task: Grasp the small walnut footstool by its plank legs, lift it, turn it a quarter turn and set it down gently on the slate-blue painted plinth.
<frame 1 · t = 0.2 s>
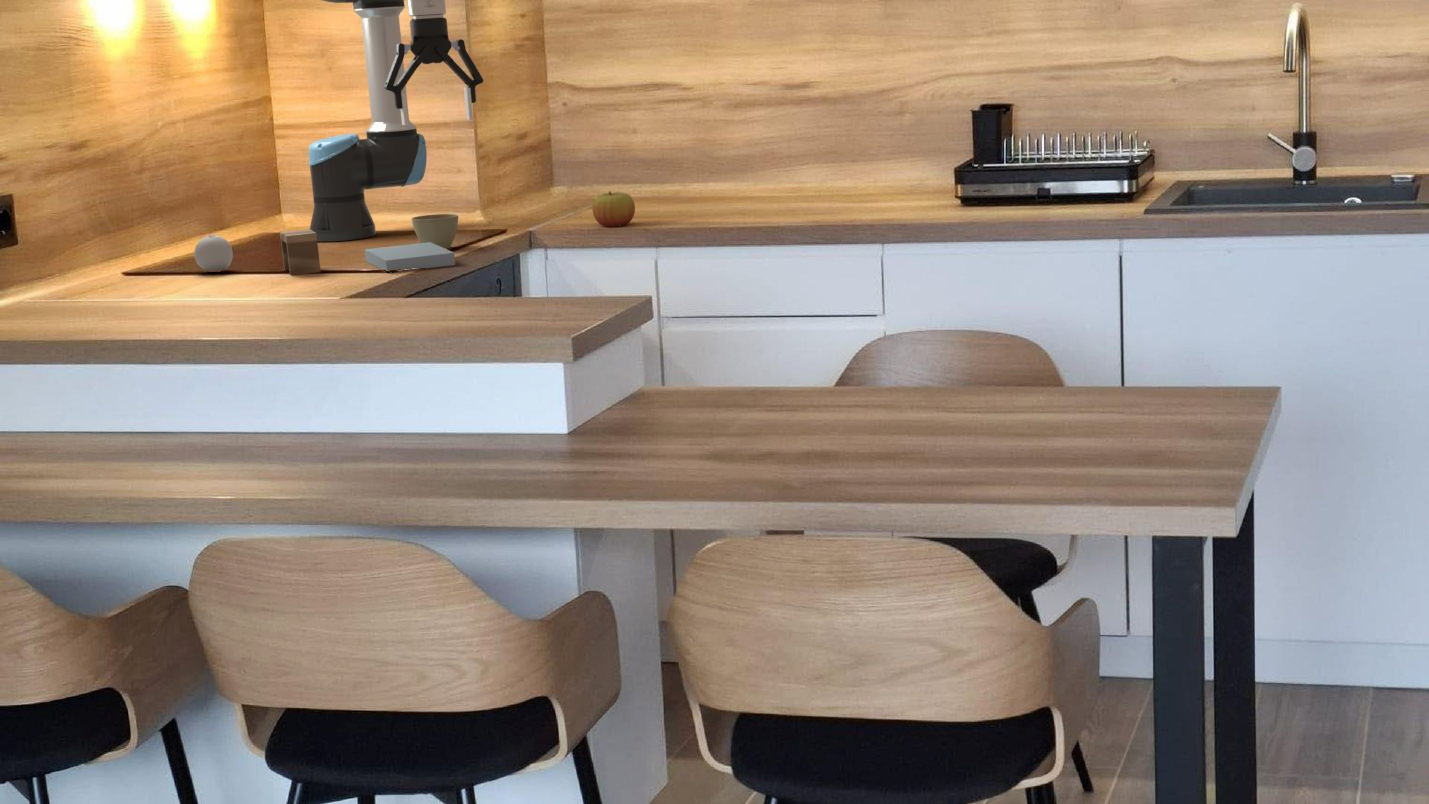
hand: (437, 122, 361), 28 cm above the kitchen counter, fingers open, 13 cm apart
plinth: (409, 263, 359), on the kitchen counter
flower pot: (438, 250, 377), on the kitchen counter
apple 2: (614, 226, 399), on the kitchen counter
stool: (302, 271, 357), on the kitchen counter
grey ball: (216, 273, 363), on the kitchen counter
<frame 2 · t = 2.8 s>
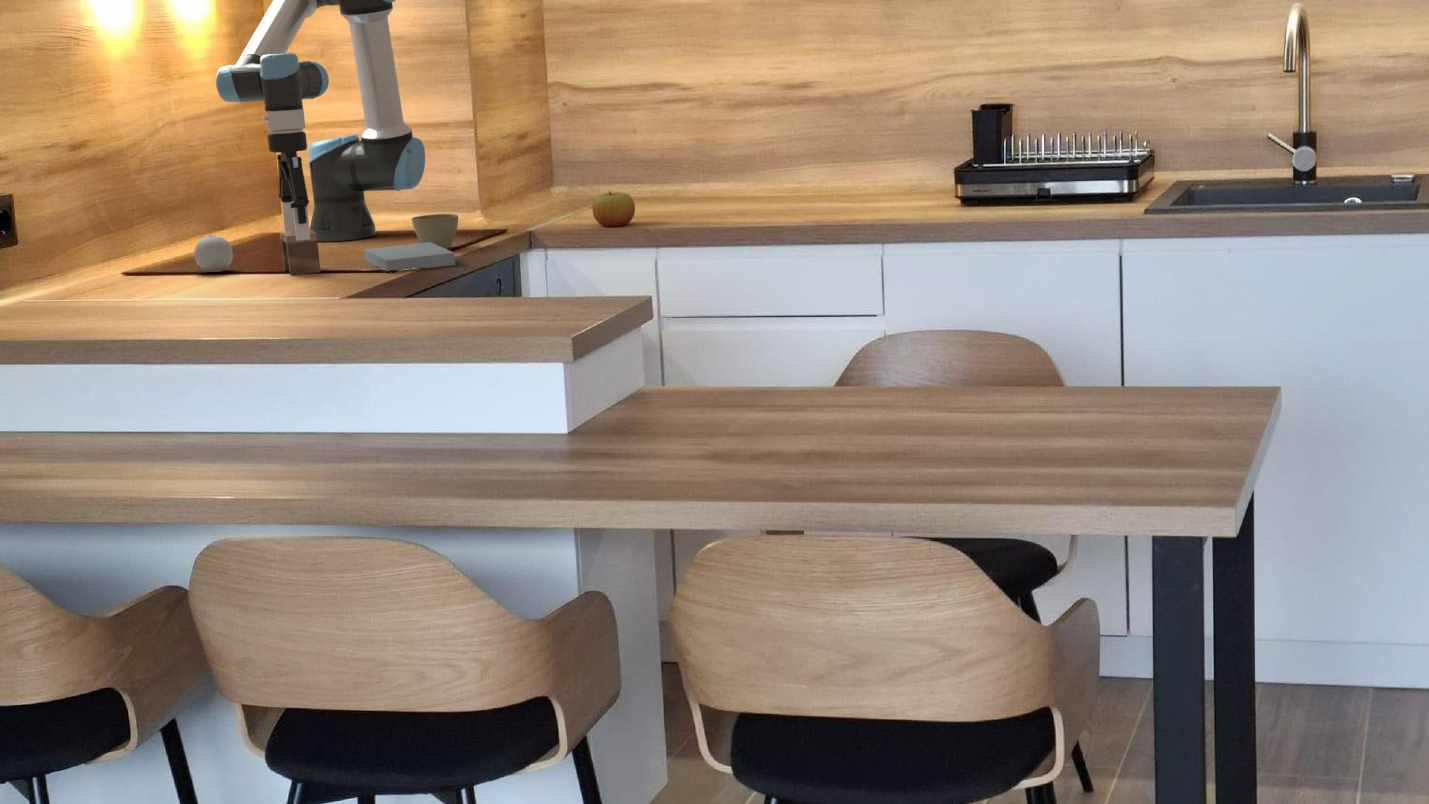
hand: (297, 236, 355), 7 cm above the kitchen counter, fingers open, 13 cm apart
nothing on the kitchen counter moved.
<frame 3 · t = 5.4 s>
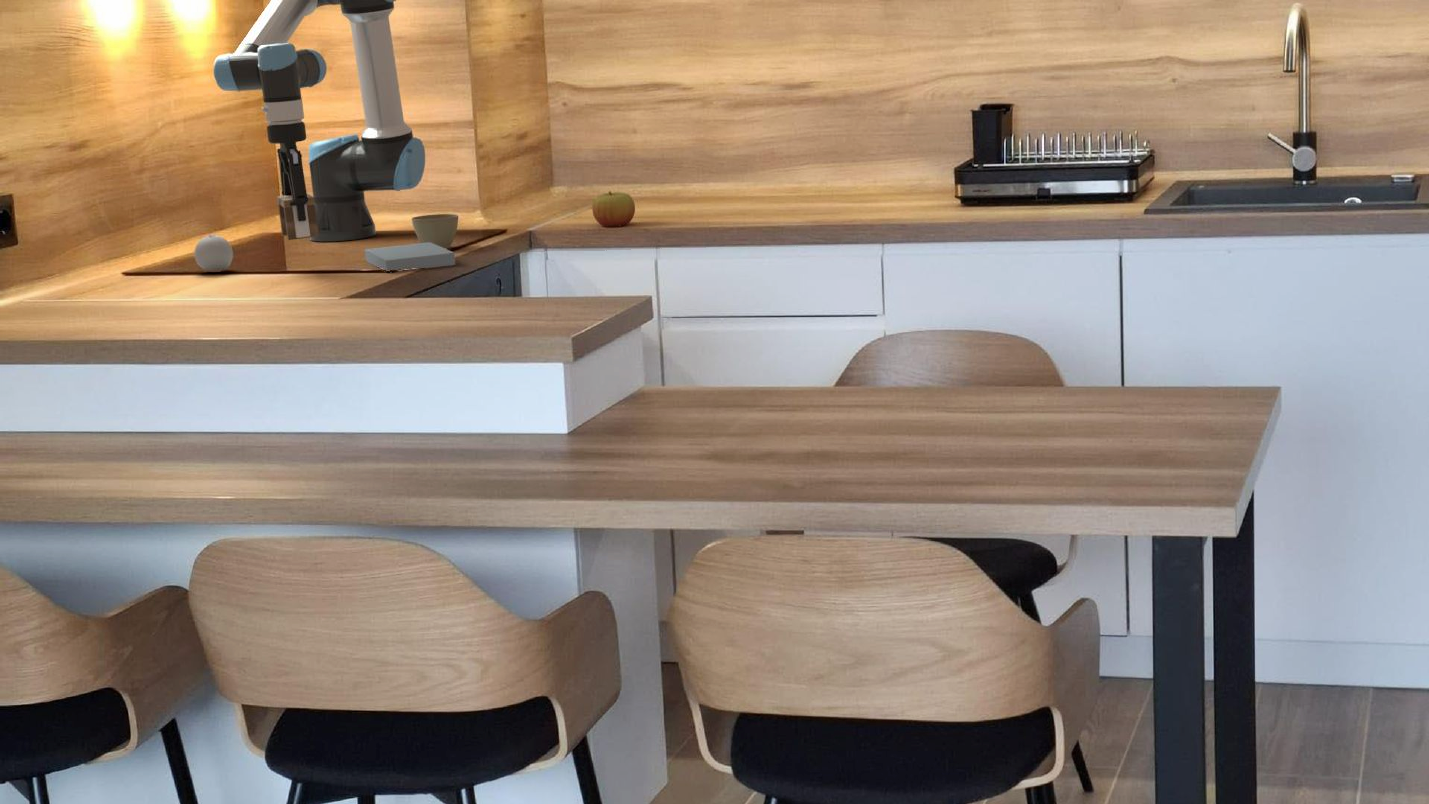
hand: (299, 234, 355), 8 cm above the kitchen counter, fingers closed on stool, 8 cm apart
stool: (300, 235, 356), point 7 cm above the kitchen counter, touching gripper
everything else where it was.
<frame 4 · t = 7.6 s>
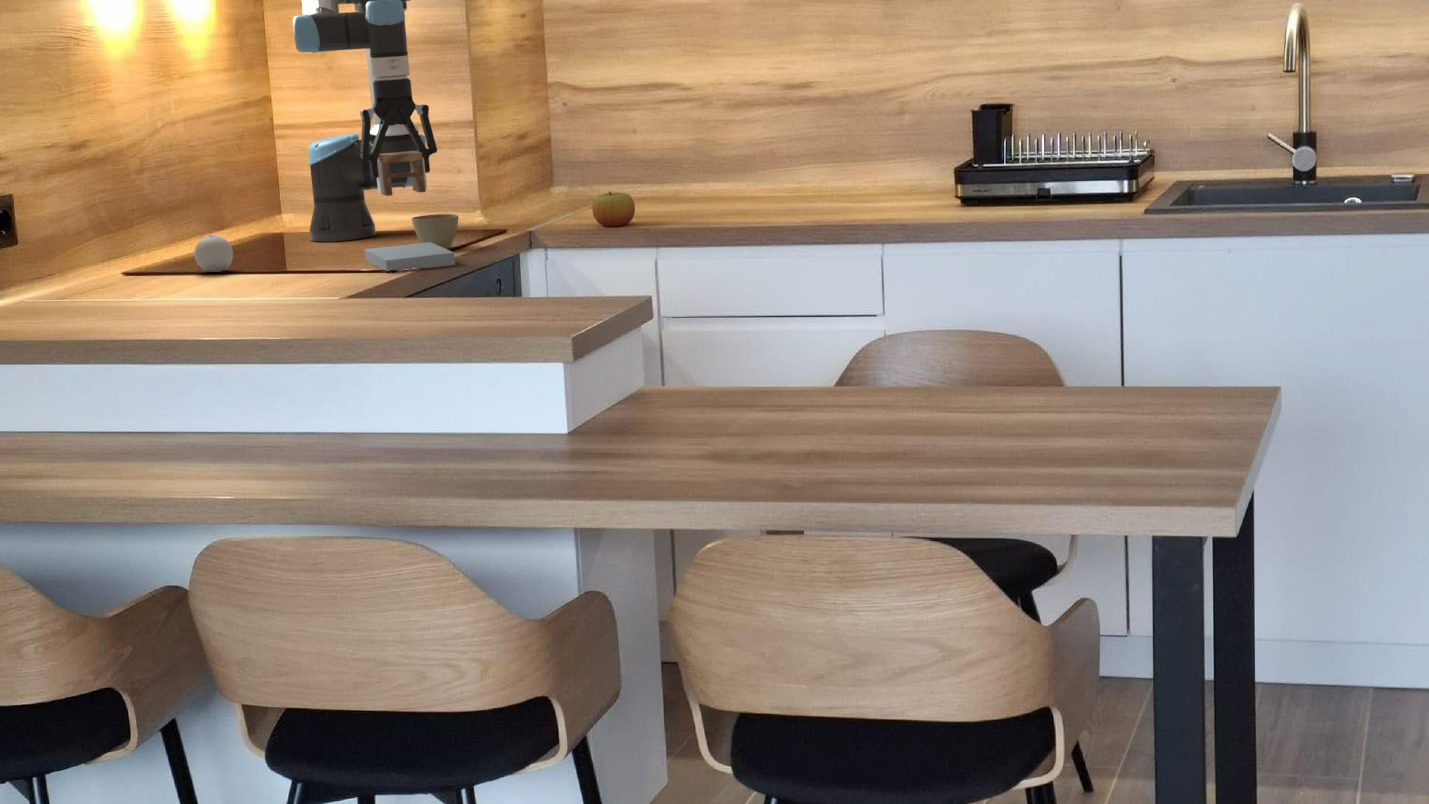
hand: (402, 191, 356), 15 cm above the kitchen counter, fingers closed on stool, 8 cm apart
stool: (402, 192, 356), point 15 cm above the kitchen counter, touching gripper
everything else where it was.
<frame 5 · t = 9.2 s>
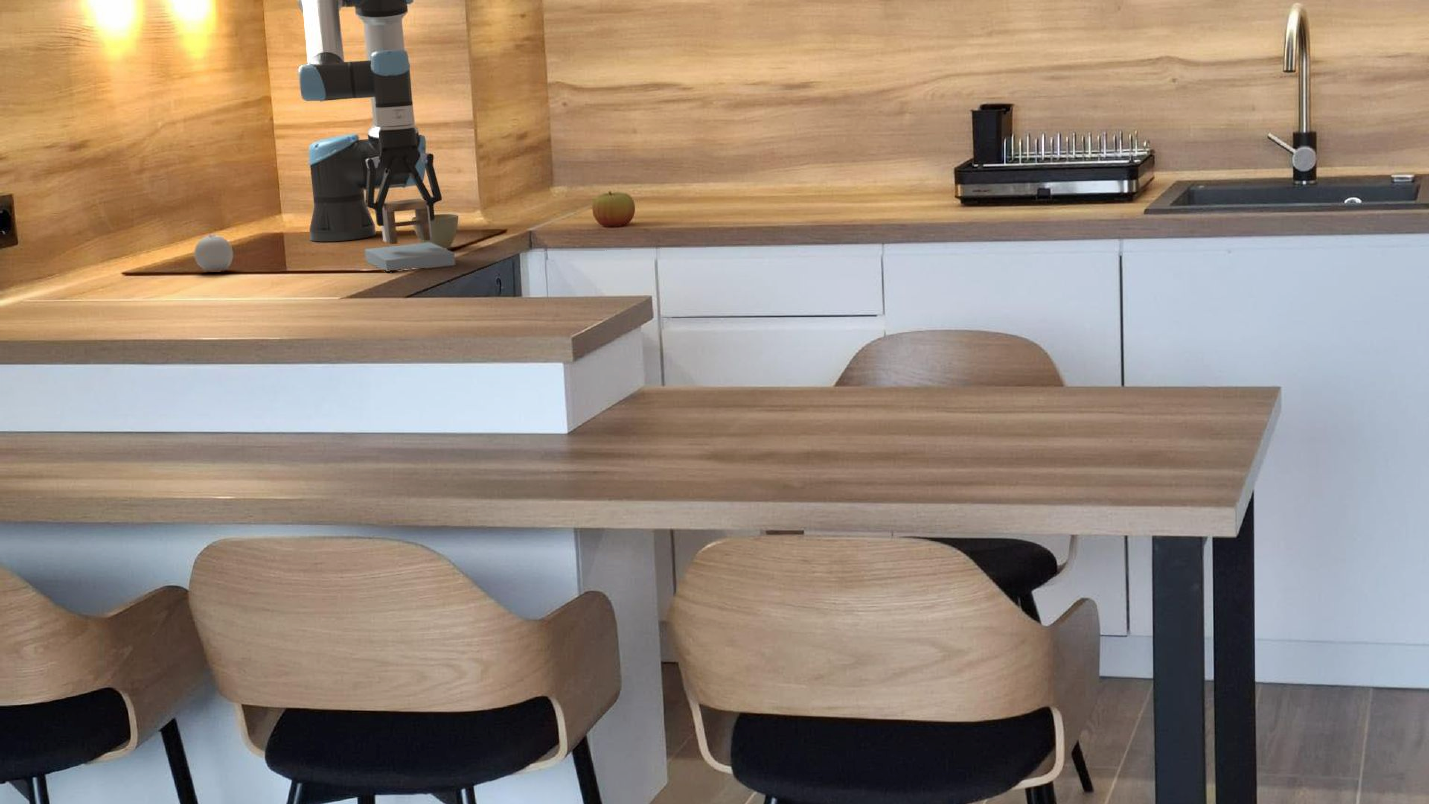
hand: (407, 239, 358), 5 cm above the kitchen counter, fingers closed on stool, 8 cm apart
stool: (407, 240, 358), point 5 cm above the kitchen counter, touching gripper
everything else where it was.
when the fingers open (4 cm above the kitchen counter, at t = 10.3 s): stool stays where it is, resting on plinth.
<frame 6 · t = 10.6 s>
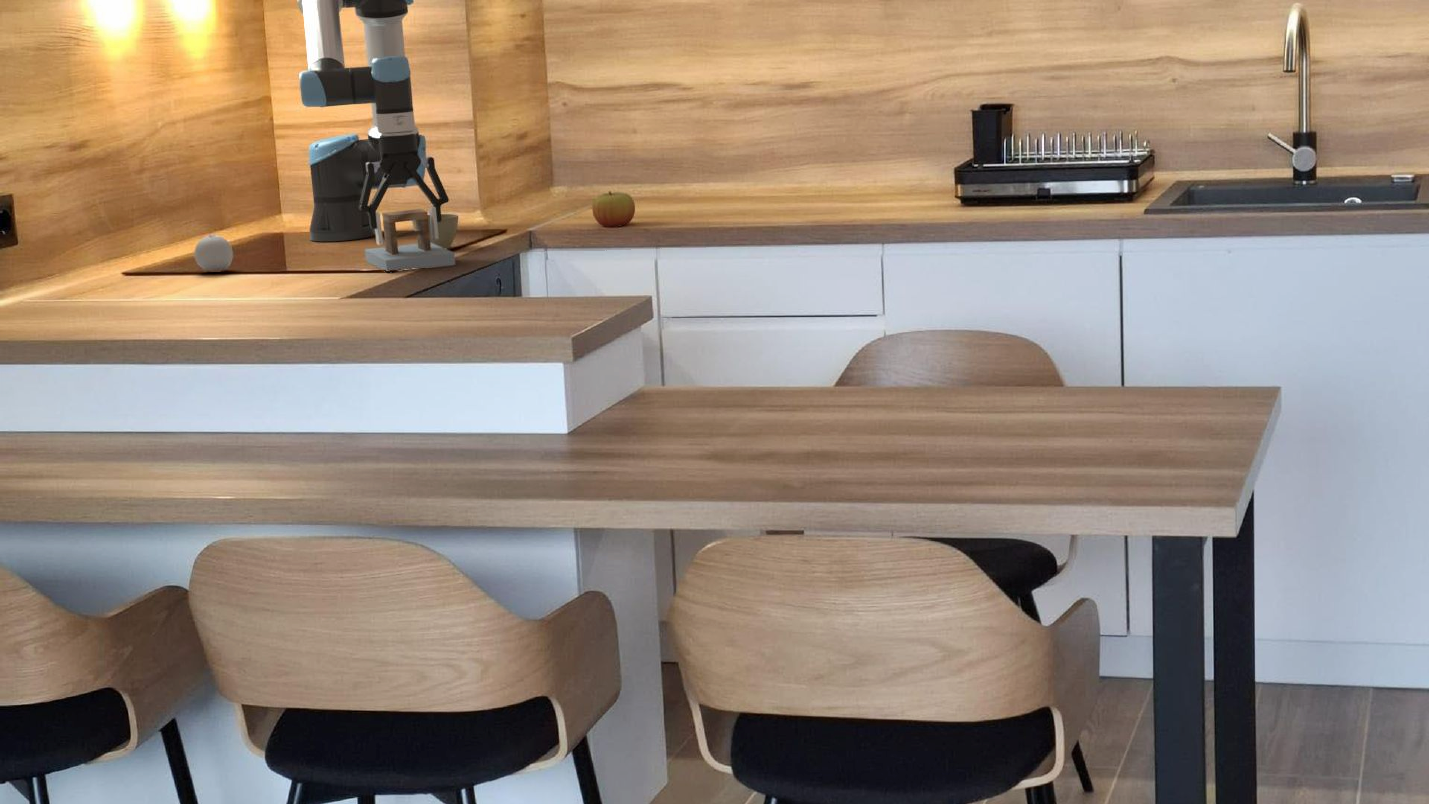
hand: (407, 241, 358), 4 cm above the kitchen counter, fingers open, 11 cm apart
stool: (408, 250, 359), point 2 cm above the kitchen counter, touching plinth
everything else where it was.
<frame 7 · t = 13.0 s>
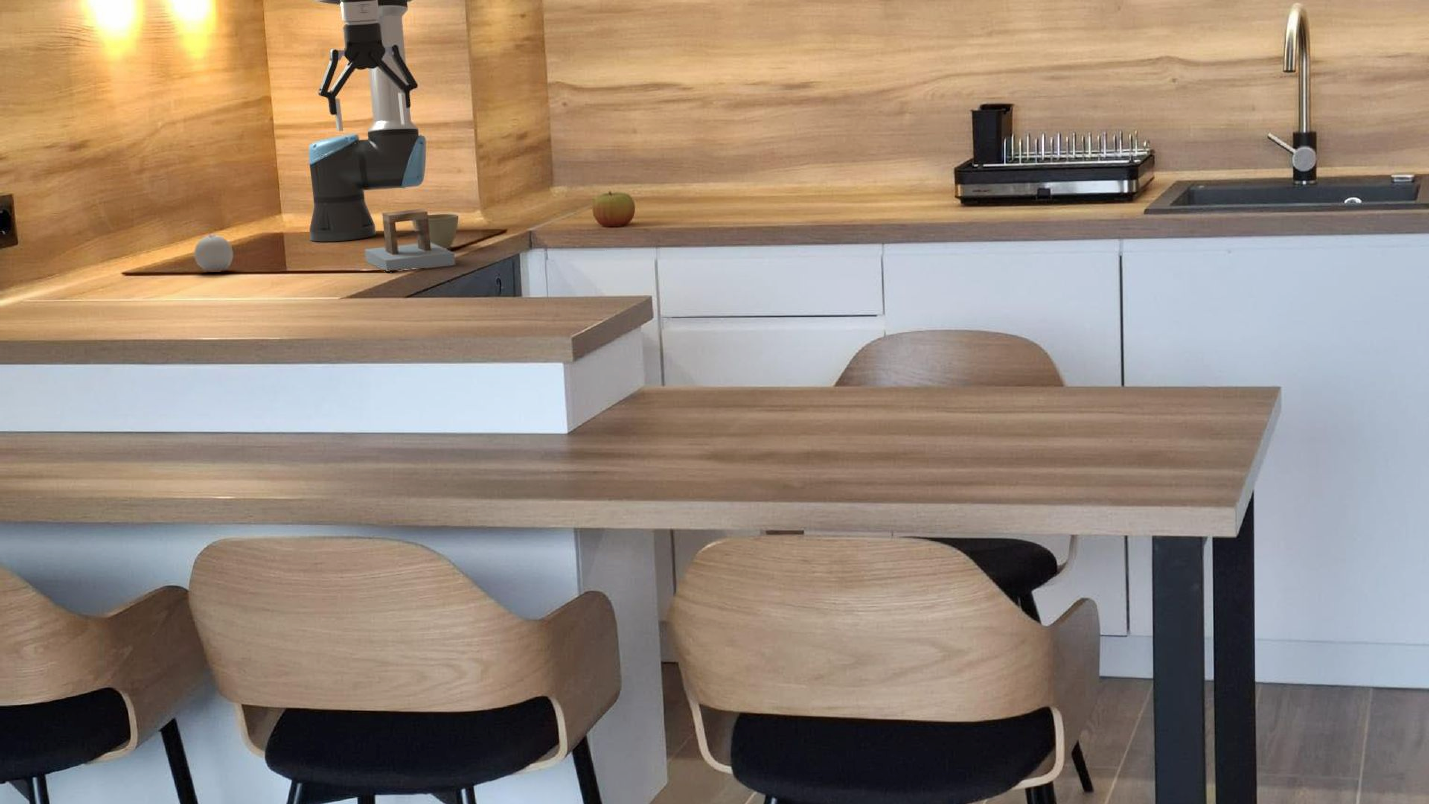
hand: (372, 127, 360), 27 cm above the kitchen counter, fingers open, 13 cm apart
nothing on the kitchen counter moved.
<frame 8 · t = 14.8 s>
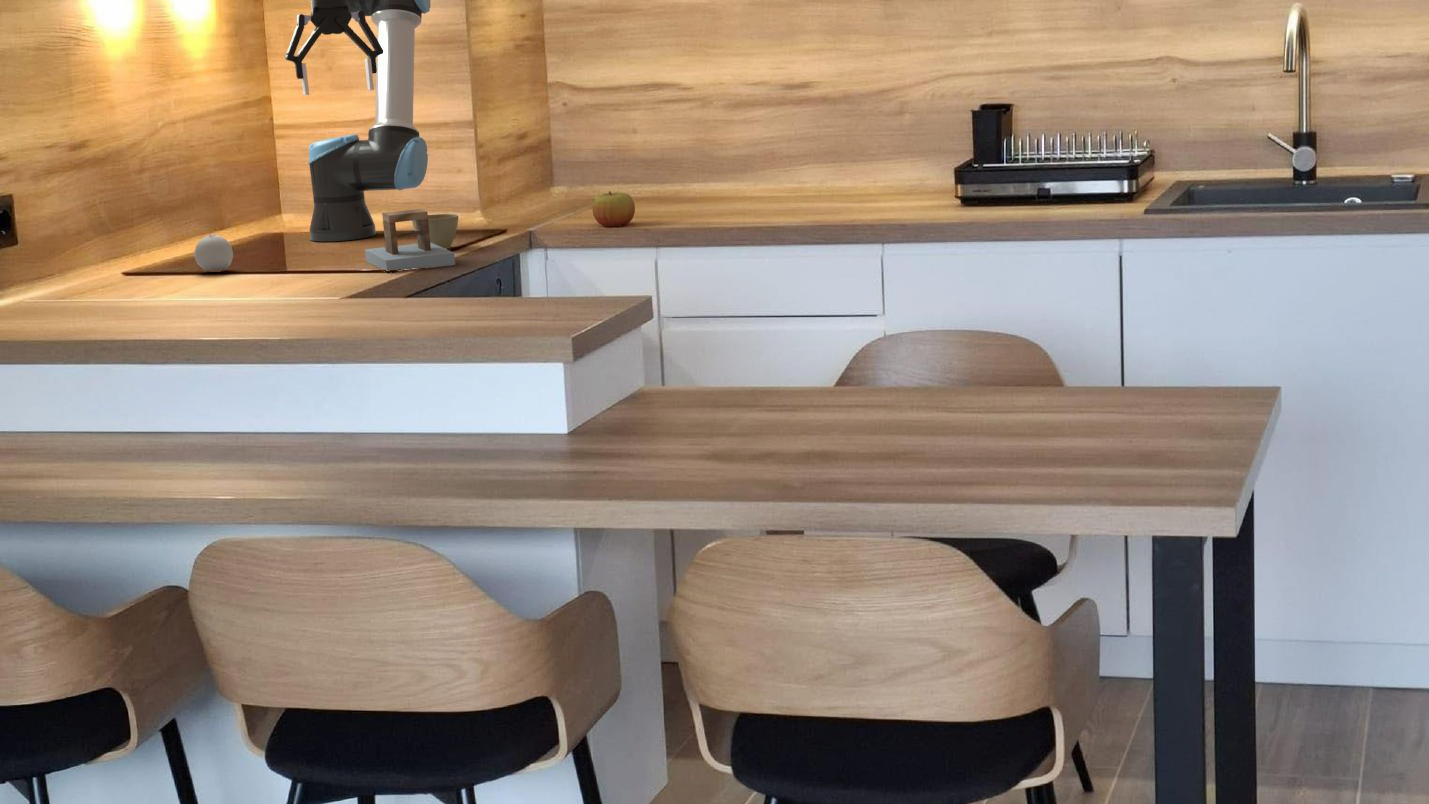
hand: (338, 92, 366), 35 cm above the kitchen counter, fingers open, 13 cm apart
nothing on the kitchen counter moved.
at the end: stool inside the target area on the plinth (0.1 cm from its centre), point 2.5 cm above the plinth's base; stool tilted 0°; the gripper is holding nothing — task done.
